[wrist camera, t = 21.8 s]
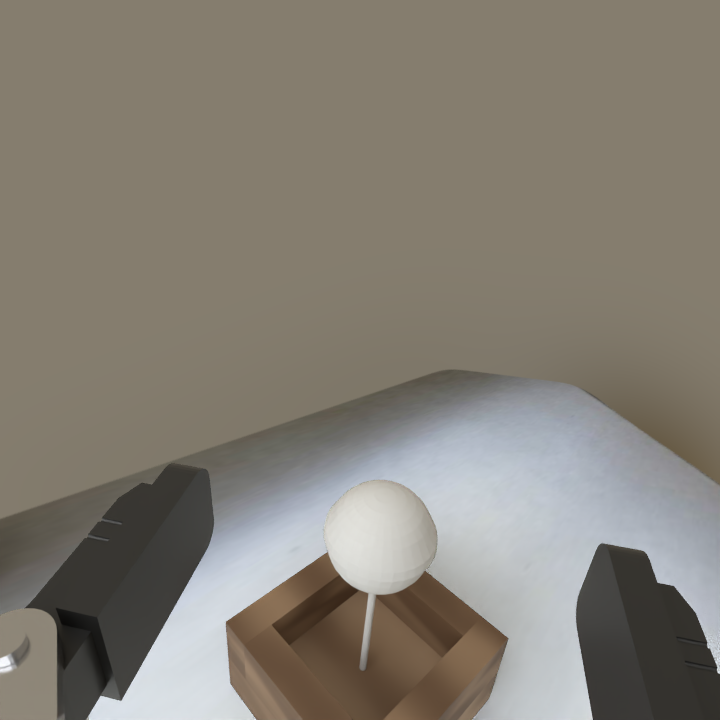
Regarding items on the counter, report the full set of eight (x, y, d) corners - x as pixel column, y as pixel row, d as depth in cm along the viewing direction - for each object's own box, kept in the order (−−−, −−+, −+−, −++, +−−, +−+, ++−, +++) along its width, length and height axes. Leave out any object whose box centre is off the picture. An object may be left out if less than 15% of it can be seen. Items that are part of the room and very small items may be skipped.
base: (362, 581, 44) (368, 524, 41) (489, 698, 36) (508, 638, 33) (230, 683, 36) (225, 622, 33) (358, 859, 29) (367, 800, 25)
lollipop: (298, 686, 33) (304, 510, 26) (340, 611, 38) (355, 444, 31) (390, 735, 31) (424, 559, 24) (422, 649, 36) (458, 481, 29)
